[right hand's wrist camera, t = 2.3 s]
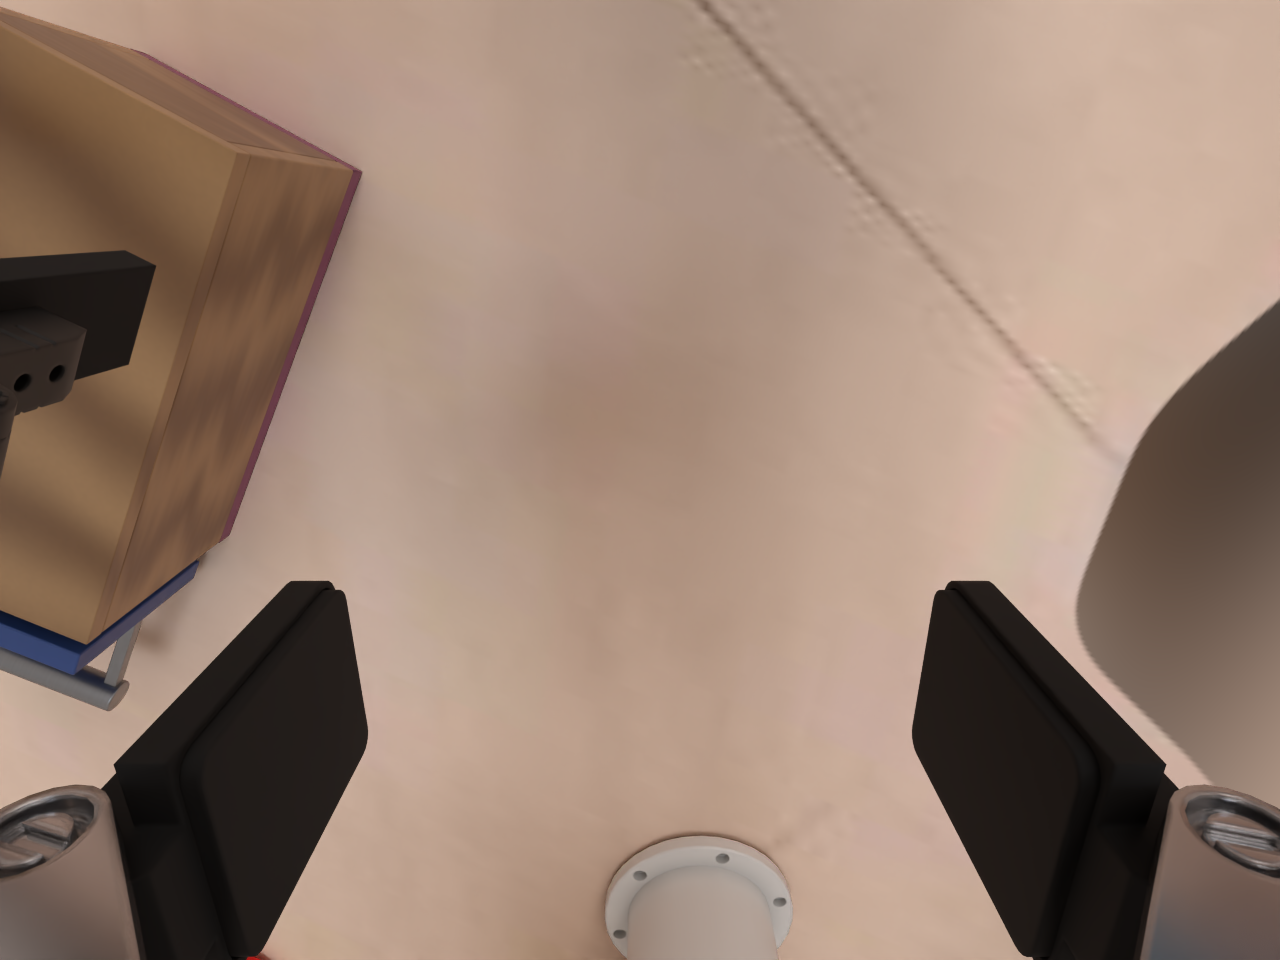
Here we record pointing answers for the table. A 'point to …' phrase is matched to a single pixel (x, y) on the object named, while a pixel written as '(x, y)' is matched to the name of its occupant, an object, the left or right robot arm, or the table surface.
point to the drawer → (80, 651)
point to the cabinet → (149, 313)
